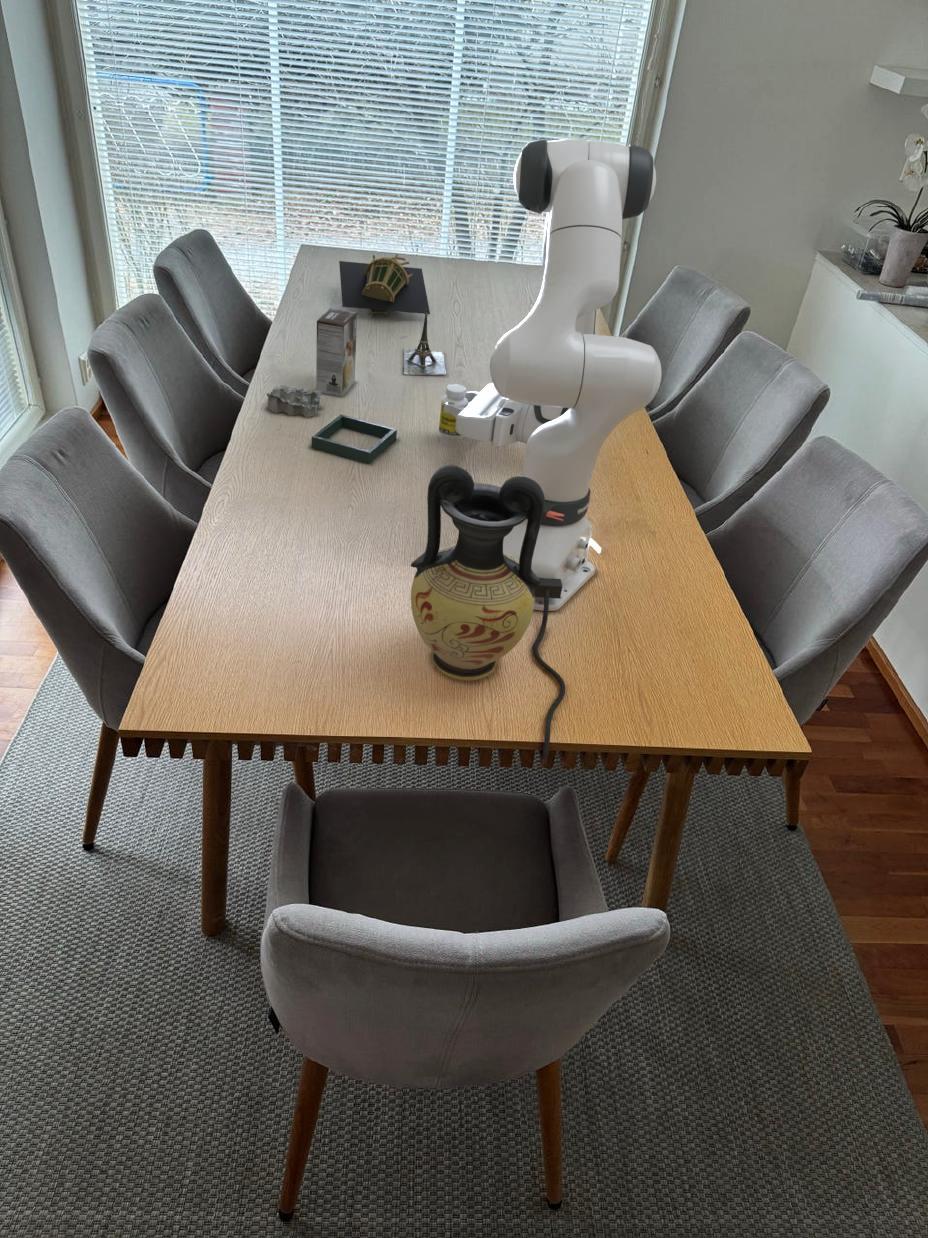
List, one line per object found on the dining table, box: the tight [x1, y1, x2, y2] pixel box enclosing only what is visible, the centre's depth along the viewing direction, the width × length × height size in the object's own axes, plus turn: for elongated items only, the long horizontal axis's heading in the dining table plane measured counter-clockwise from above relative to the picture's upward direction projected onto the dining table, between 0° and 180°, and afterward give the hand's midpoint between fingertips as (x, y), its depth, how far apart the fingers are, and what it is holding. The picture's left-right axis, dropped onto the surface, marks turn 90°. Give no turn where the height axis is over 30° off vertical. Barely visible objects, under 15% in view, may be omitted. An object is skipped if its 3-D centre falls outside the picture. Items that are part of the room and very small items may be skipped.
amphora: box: [410, 464, 545, 682], centre depth 126 cm, size 18×17×30 cm
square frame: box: [311, 413, 398, 465], centre depth 186 cm, size 13×13×2 cm
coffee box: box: [315, 308, 358, 397], centre depth 204 cm, size 9×6×16 cm
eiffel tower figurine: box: [403, 310, 447, 376], centre depth 222 cm, size 15×10×13 cm
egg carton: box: [266, 384, 322, 418], centre depth 196 cm, size 11×8×4 cm
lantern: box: [338, 253, 431, 315], centre depth 255 cm, size 14×23×30 cm
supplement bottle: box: [438, 383, 469, 439], centre depth 189 cm, size 5×5×10 cm
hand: (450, 400), depth 188 cm, fingers closed on supplement bottle, 5 cm apart
